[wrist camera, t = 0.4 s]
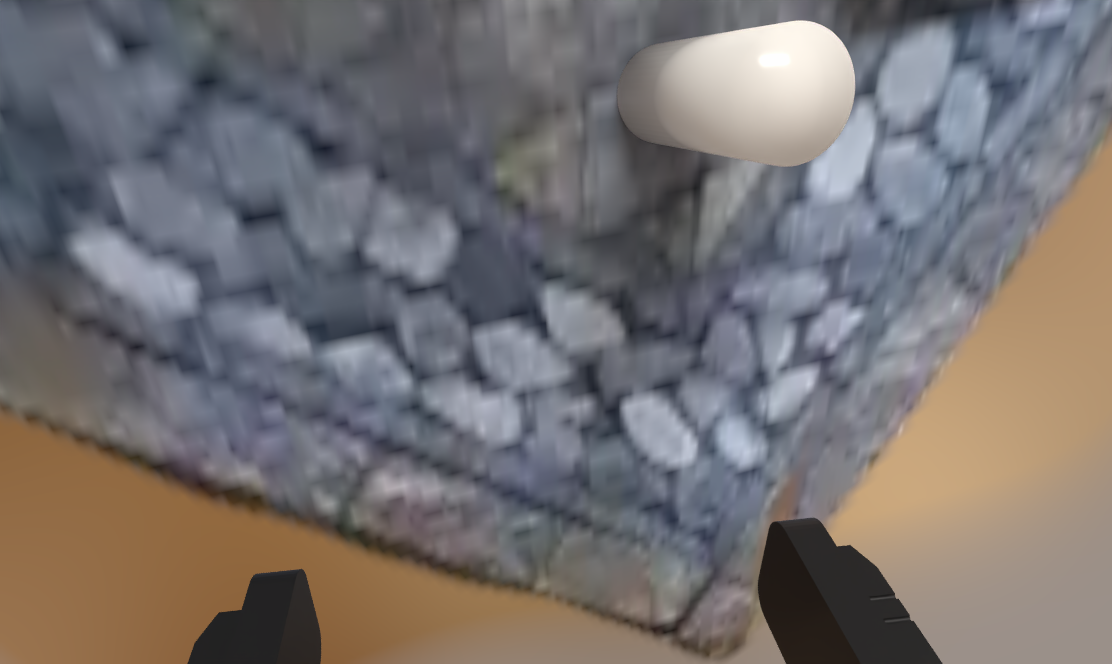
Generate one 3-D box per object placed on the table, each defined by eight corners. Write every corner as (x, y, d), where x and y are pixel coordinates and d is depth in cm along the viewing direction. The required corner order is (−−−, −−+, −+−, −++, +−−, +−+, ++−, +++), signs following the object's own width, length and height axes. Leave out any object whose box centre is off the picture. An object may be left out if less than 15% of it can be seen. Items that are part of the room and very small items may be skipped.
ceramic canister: (610, 52, 34) (725, 33, 23) (701, 35, 35) (854, 9, 24) (624, 151, 36) (736, 178, 25) (710, 133, 37) (856, 152, 26)
